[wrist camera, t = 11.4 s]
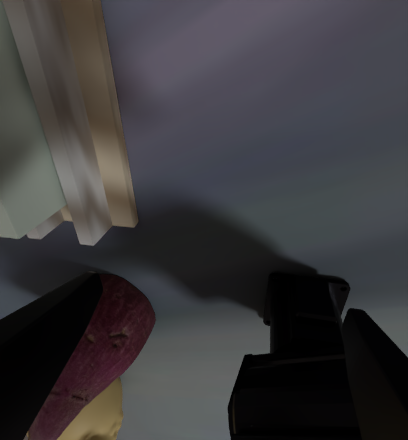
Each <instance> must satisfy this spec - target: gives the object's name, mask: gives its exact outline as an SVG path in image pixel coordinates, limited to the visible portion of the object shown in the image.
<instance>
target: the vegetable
mask: <svg viewBox="0 0 408 440" xmlns="http://www.w3.org/2000/svg"><path fill="white" fill-rule="evenodd" d="M99 275H100V278H101V282H102V285H103V293H102V296H101V298H100V300H99V303H98V305H97V307H96V309H95V311H94V314H93V316H92V318H91V320H90V323H89V325H88V327H87V329H86V331H85V333H84V334H83V336H82V338H81V340H80V341H79V343H78V345H77V347H76V348H75V350H74V352H73V354H72V355H71V357H70V359H69V361H68V362H67V364H66V366H65V368H64V369H63V371H62V373H61V375H60V376H59V378H58V380H57V382H56V383H55V385H54V387H53V389H52V390H51V392H50V394H49V396H48V397H47V399H46V401H45V403H44V404H43V406H42V408H41V410H40V411H39V413H38V415H37V417H36V418H35V420H34V422H33V424H32V425H31V427H30V429H29V431H28V440H57V439H58V438H59V437H60V435H61V434H62V433H63V431H64V430H65V429H66V428H67V427H68V425H69V424H70V423H71V422H72V421H73V420H74V419H75V417H76V416H77V415H78V414H79V413H80V411H81V410H82V409H83V408H84V407H85V406H86V405H88V404H89V403H90V402H91V401H92V400H93V399H94V398H95V397H96V396H98V395H99V394H100V393H101V392H102V391H104V390H105V389H106V388H107V387H108V386H109V385H110V384H111V383H112V382H113V381H114V380H115V379H117V378H118V377H119V376H120V375H121V374H123V373H124V372H125V371H126V370H127V369H128V367H129V366H130V365H131V364H132V363H133V362H134V360H135V359H136V358H137V356H138V355H139V353H140V351H141V350H142V348H143V346H144V345H145V343H146V341H147V339H148V337H149V335H150V333H151V331H152V329H153V327H154V324H155V321H156V319H155V312H154V311H153V308H152V306H151V304H150V302H149V300H148V299H147V297H145V295H144V294H143V293H142V292H141V291H139V290H138V289H137V288H136V287H135V286H133V285H132V284H131V283H129V282H128V281H127V280H125V279H123V278H121V277H118V276H116V275H108V274H99Z"/></svg>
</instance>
